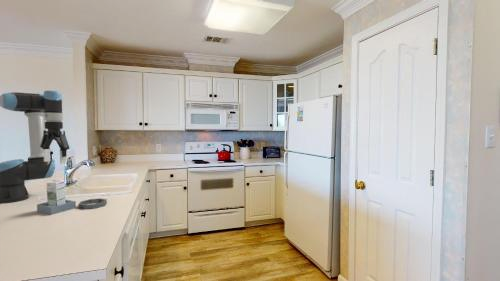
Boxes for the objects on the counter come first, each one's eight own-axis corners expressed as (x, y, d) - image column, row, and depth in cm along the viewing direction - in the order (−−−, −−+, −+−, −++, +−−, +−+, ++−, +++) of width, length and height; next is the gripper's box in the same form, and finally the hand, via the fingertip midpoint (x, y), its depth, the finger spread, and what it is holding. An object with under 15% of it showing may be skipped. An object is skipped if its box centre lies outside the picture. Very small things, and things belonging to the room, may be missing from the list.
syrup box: (66, 207, 143) (65, 180, 143) (56, 210, 138) (55, 182, 137) (56, 206, 144) (55, 179, 143) (47, 209, 138) (45, 182, 138)
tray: (37, 211, 138) (36, 204, 138) (61, 205, 149) (61, 198, 149) (51, 214, 133) (51, 207, 133) (75, 207, 144) (75, 201, 144)
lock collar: (74, 207, 146) (73, 203, 145) (96, 201, 157) (95, 197, 157) (90, 210, 140) (89, 206, 140) (111, 203, 152) (111, 200, 152)
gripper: (31, 121, 140) (32, 161, 141) (61, 121, 130) (62, 164, 131) (46, 121, 147) (48, 159, 148) (76, 121, 137) (78, 162, 138)
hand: (55, 162), depth 140 cm, fingers open, 13 cm apart
